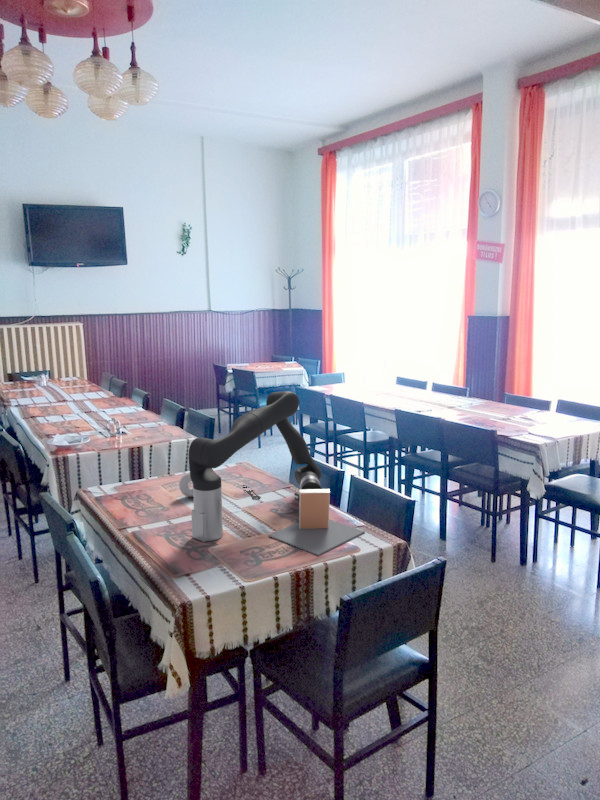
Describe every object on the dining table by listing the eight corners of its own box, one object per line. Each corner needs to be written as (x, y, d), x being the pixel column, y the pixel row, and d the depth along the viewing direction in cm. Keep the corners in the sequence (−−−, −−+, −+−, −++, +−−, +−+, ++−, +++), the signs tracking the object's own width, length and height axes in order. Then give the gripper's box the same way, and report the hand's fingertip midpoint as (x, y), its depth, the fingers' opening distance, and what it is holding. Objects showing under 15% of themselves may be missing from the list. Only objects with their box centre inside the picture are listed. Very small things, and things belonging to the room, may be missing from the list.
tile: (299, 525, 208) (299, 489, 202) (328, 524, 209) (329, 488, 203) (299, 529, 206) (299, 493, 200) (328, 528, 206) (329, 492, 200)
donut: (202, 493, 243) (201, 469, 242) (205, 495, 241) (204, 471, 239) (178, 497, 239) (177, 472, 237) (181, 499, 236) (180, 475, 234)
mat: (318, 555, 187) (318, 554, 187) (268, 536, 201) (268, 534, 201) (364, 532, 204) (364, 531, 204) (315, 516, 219) (315, 514, 219)
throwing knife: (252, 500, 235) (252, 499, 235) (237, 485, 253) (237, 484, 253) (263, 499, 237) (263, 497, 237) (246, 484, 255) (246, 482, 255)
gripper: (292, 478, 221) (294, 494, 204) (328, 477, 222) (333, 493, 205) (292, 497, 223) (294, 515, 206) (328, 497, 223) (333, 514, 206)
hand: (313, 504), depth 205 cm, fingers closed
